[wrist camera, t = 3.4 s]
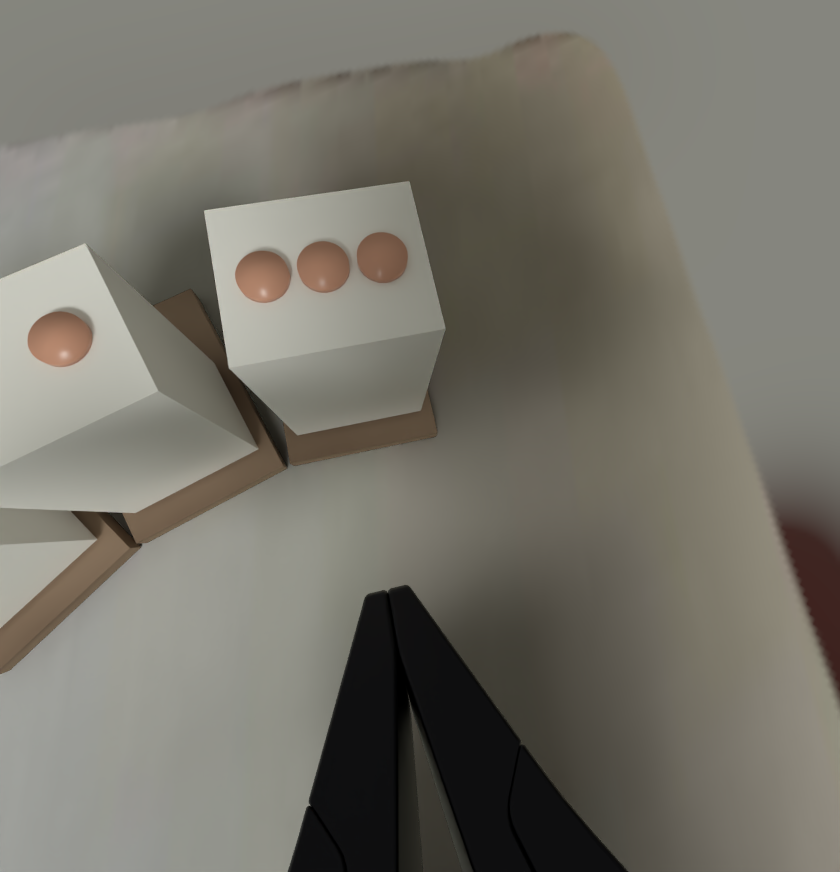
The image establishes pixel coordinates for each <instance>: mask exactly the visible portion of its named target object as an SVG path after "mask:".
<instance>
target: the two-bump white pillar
mask: <svg viewBox="0 0 840 872" xmlns="http://www.w3.org/2000/svg"><path fill="white" fill-rule="evenodd" d="M256 450H258V447H257V445H256V443H255V441H254V439H253V437H252V435H251V433H250V431H249V429H248V427H247V425H246V423H245V421H244V420H243V418H242V416H241V414H240V412H239V410H238V408H237V406H236V404H235V402H234V400H233V398H232V396H231V394H230V392H229V391H228V389H227V387H226V385H225V383H224V381H223V379H222V377H221V375H220V373H219V371H218V369H217V367H216V365H215V363H214V362H213V361H212V360H211V359H209V358H208V357H207V356H206V355H205V354H204V353H203V352H202V351H201V350H200V349H199V348H198V347H197V346H195V345H194V344H193V343H192V342H191V341H190V340H189V339H188V338H187V337H186V336H185V335H184V334H183V333H181V332H180V331H179V330H178V329H177V328H176V327H175V326H174V325H173V324H172V323H171V322H170V321H169V320H167V319H166V318H165V317H164V316H163V315H162V314H161V313H160V312H159V311H158V310H157V309H156V308H154V307H153V306H152V305H151V304H150V303H149V302H148V301H147V300H146V299H145V298H144V297H143V296H142V295H140V294H139V293H138V292H137V291H136V290H135V289H134V288H133V287H132V286H131V285H130V284H129V283H128V282H126V281H125V280H124V279H123V278H122V277H121V276H120V275H119V274H118V273H117V272H116V271H115V270H114V269H112V268H111V267H110V266H109V265H108V264H107V263H106V262H105V261H104V260H103V259H102V258H101V257H100V256H98V255H97V254H96V253H95V252H94V251H93V250H92V249H91V248H90V247H89V246H88V245H87V244H86V243H85V244H83V245H80V246H78V247H75V248H73V249H71V250H68V251H66V252H63V253H61V254H59V255H56V256H54V257H51V258H49V259H47V260H44V261H42V262H39V263H37V264H35V265H32V266H30V267H27V268H25V269H23V270H20V271H18V272H15V273H13V274H11V275H8V276H6V277H3V278H1V279H0V508H17V509H43V510H68V511H94V512H119V513H137V512H138V511H140V510H142V509H144V508H146V507H148V506H150V505H152V504H154V503H156V502H158V501H160V500H162V499H164V498H165V497H167V496H169V495H171V494H173V493H175V492H177V491H179V490H181V489H183V488H185V487H187V486H189V485H191V484H193V483H194V482H196V481H198V480H200V479H202V478H204V477H206V476H208V475H210V474H212V473H214V472H216V471H218V470H220V469H221V468H223V467H225V466H227V465H229V464H231V463H233V462H235V461H237V460H239V459H241V458H243V457H245V456H247V455H248V454H250V453H252V452H254V451H256Z"/></svg>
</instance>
